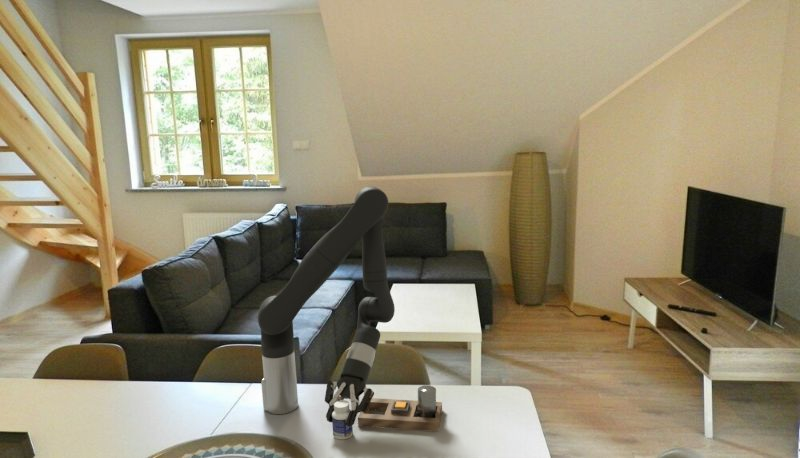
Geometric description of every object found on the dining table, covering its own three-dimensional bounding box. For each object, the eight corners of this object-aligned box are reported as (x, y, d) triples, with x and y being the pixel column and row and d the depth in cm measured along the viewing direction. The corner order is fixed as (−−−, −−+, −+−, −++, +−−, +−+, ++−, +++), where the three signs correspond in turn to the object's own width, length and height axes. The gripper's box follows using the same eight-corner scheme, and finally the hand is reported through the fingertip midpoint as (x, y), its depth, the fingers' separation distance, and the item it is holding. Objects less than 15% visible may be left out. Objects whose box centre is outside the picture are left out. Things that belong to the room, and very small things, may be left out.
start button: (394, 410, 149) (394, 406, 148) (396, 405, 151) (396, 401, 151) (404, 411, 148) (404, 407, 148) (406, 406, 151) (406, 402, 151)
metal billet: (418, 424, 147) (418, 394, 145) (417, 414, 152) (417, 385, 150) (436, 424, 147) (436, 394, 145) (435, 414, 152) (435, 385, 150)
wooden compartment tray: (358, 426, 147) (357, 413, 146) (367, 405, 158) (366, 394, 157) (438, 431, 143) (437, 418, 142) (442, 410, 154) (441, 398, 153)
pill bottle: (349, 441, 140) (347, 409, 138) (330, 439, 141) (328, 408, 139) (355, 429, 145) (353, 399, 144) (336, 428, 146) (334, 398, 145)
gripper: (331, 353, 149) (309, 414, 141) (377, 361, 143) (357, 425, 135) (342, 363, 155) (321, 422, 147) (386, 371, 149) (368, 433, 141)
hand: (338, 423), depth 141 cm, fingers closed on pill bottle, 5 cm apart
